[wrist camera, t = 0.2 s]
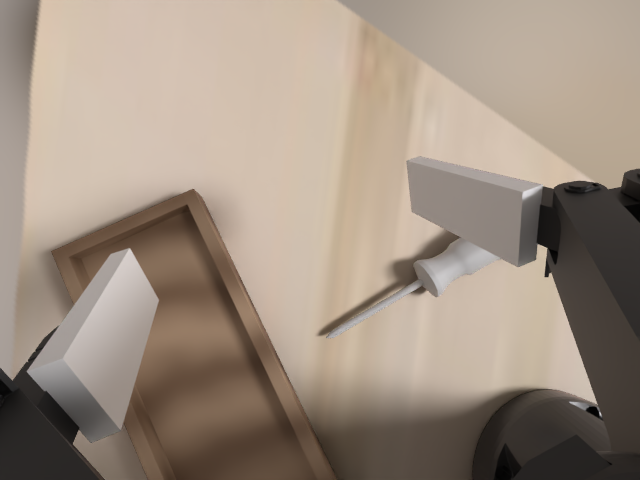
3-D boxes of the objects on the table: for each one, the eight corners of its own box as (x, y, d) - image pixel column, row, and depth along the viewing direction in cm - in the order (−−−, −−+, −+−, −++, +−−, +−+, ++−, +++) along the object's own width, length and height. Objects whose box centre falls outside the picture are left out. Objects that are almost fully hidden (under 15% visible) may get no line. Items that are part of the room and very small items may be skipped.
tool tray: (350, 507, 27) (356, 530, 24) (218, 592, 25) (209, 625, 23) (201, 196, 29) (193, 188, 27) (72, 254, 28) (51, 251, 25)
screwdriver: (315, 315, 31) (310, 311, 26) (525, 193, 33) (550, 173, 29) (340, 361, 29) (339, 365, 25) (558, 231, 31) (589, 215, 27)
